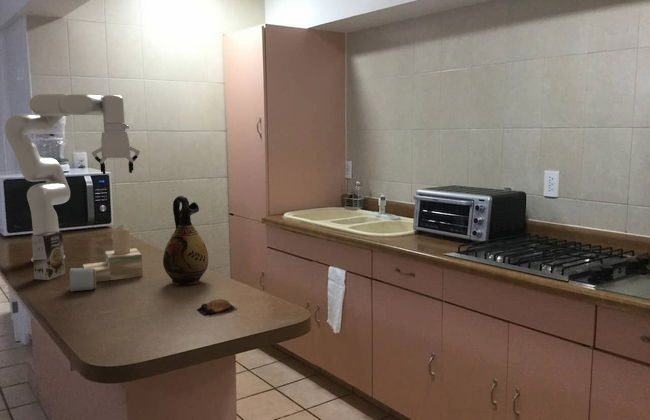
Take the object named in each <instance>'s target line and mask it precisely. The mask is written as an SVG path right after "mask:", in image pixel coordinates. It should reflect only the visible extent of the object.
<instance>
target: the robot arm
mask: <svg viewBox="0 0 650 420" xmlns="http://www.w3.org/2000/svg"><path fill="white" fill-rule="evenodd" d="M29 108H30V110H31V111H32V112H33V113H17V114H12V115H11V116H9V117H8V119H6V122H5V123H4V124H5V125H4V134H5V137H6V140H7V142H8V144H9V146H10V147H11V148H12V149H11V150H12V151H13V153H14V156H15V159H16V160H17V164H18V166H19V170H20V171H21V174H22V176H23V177H24V179H25V180H26V181H28V182H32V183H34V182H42V183H37V184H33V185H32V186H30V187H29V189H28V190H27V192H26V199H27V202H28V206H29V209H30V213H31V215H30V216H31V223H32V235H36V234H40V233H44V232H60V230H59V229H60V226H59V217H58V214H57V211H56V210H55V208H54V206H55V205H62V204H65V203H66V202H68V201H69V200H70V198H71V189H70V186H69V183H68V181H67V179H66V176H65V172H64V170H63V167H62V166H61V164H60V162H58V160H57V159H56V158H54V157H49V156H45V157H42V156H41V155H40V153H39V150H38V148H37V145H36V144H35V143H34V141H33V140H32V139H30V137H28V136H39V135H47V134H49V133H51V131H52V130H53V129H54V128H55V127H56V125H57V124H58V123H59V122H60V121H61V120H62V119H63V117H68V116H71V115H74V116H102V121H103V131H102V132H101V138H100V142H101V143H100V145H101V146H100V147H99V148H97V149H95V150H94V151H92V152H91V155H92V156H93V158H94V160H95V161H97V162H98V163H99V167H100V172H101V173H102V175H106V163H105V161H106V160H107V159H127V160H128V163H127V164H128V172H129V173H130V174H132V173H133V171H134V162H135V161H136V160H137V159H138V157H139V155H140V152H141V151H140V150H138V149H136V148H134V147H132V146H130V139H129V135H128V132H127V131H126V130H128V129H130V126H129V124H126V122H125V107H124V99H123V96H121V95H117V94H106V95H98V94H97V95H96V94H68V93H39V94H36V95H33V96H32V97H31V99H30V100H29ZM100 152H101V158H100V157H99V156H98V153H100ZM131 152H133V153H134V155H133V156H131ZM65 258H66V255H65V254H64V259H65ZM30 260H31V263H33V257H32V258H30Z"/></svg>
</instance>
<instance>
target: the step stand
mask: <svg viewBox="0 0 650 420" xmlns="http://www.w3.org/2000/svg"><path fill="white" fill-rule="evenodd" d="M104 256H105V261H100V262H90V263H89V262H88V263H82V268H94V269H95V270H96V283H97V282H105V281H113V280H123V279H129V278H138V277H143V275H144V274H143V271H144V270H143V257H142V253H141V252H140V251H139V249H137V248H136V247H133V248H131V247H130V253H127V254H115V253H114V249H112V250H105V251H104Z"/></svg>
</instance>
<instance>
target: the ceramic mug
mask: <svg viewBox="0 0 650 420" xmlns="http://www.w3.org/2000/svg"><path fill="white" fill-rule="evenodd" d="M96 287H97V282H96V270H95V269H94V268H83V267H79V268H78V267H77V268H76V267H73V268H72V267H71V268H70V269H69V291H70V292H79V291H80V292H81V291H88V290H89V291H91V290H95V289H96Z"/></svg>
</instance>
